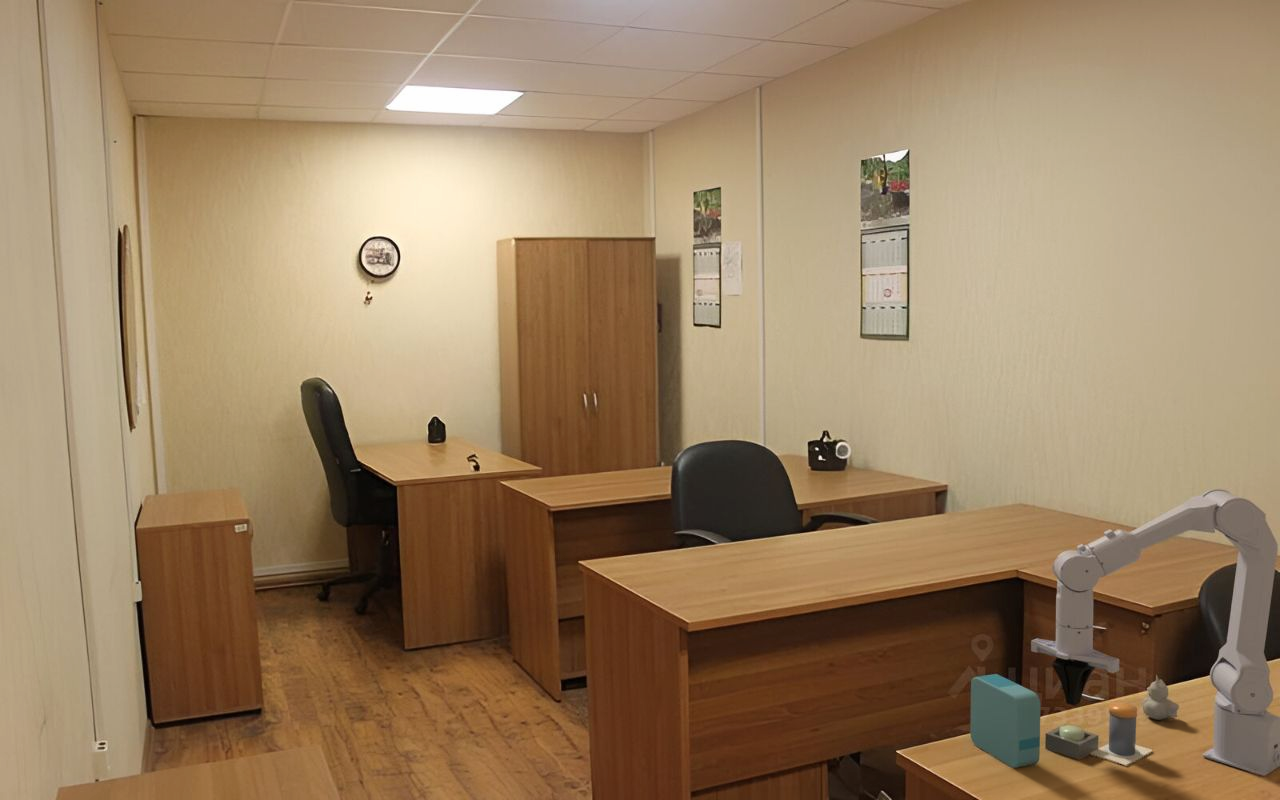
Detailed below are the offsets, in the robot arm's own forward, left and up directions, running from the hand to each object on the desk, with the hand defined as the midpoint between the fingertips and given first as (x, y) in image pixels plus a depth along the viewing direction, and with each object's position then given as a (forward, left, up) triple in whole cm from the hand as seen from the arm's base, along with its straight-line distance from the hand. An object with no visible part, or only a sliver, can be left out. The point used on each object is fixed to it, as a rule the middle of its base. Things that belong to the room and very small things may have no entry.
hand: (1073, 703), depth 171 cm
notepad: (-6, -5, -8) cm, 11 cm away
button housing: (0, 0, -8) cm, 8 cm away
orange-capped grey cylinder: (-6, -5, -8) cm, 11 cm away
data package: (+6, +11, -8) cm, 15 cm away
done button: (0, 0, -8) cm, 8 cm away
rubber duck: (-3, -24, -8) cm, 26 cm away
